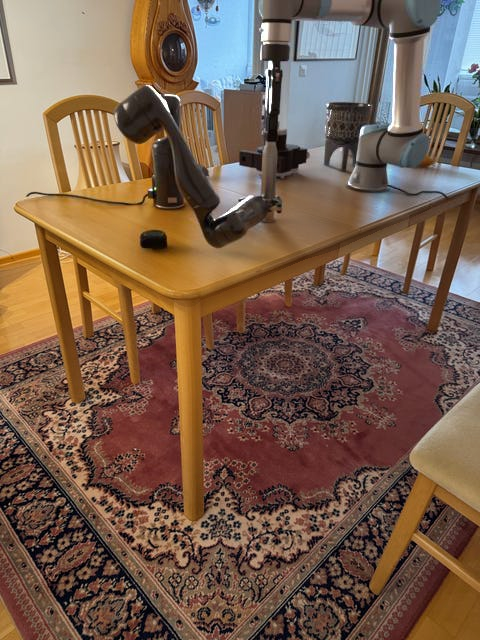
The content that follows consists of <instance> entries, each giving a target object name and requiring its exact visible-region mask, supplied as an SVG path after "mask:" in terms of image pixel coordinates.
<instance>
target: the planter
mask: <svg viewBox="0 0 480 640" xmlns="http://www.w3.org/2000/svg"><path fill="white" fill-rule="evenodd" d="M373 107H374V106H373V104H372V103H367V102H353V101H333V102H327V103H326V109H325V124H324V125H325V126H324V139H325V144H324V156H323V157H324V158H323V165H325V166H328V165H330V163H331V158H332V156H333V154H334V153H335V151H336V150H337V149H341V148H342V152H341V166H340V170H341V172H345V171H347V167H348V166H347V165H348V159H349V154H348V152H349V150H350V151H351V153H352V155H351V157H352V158H351V159H352V160H351V161H352V166H353V167H355V165H356V158H357V150H358V142H359V136H360V131H361V128H362V127H363V126H365V125H370V121H371V116H372V112H373Z"/></svg>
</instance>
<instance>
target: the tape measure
mask: <svg viewBox="0 0 480 640" xmlns="http://www.w3.org/2000/svg"><path fill="white" fill-rule="evenodd" d="M167 236H168V235H167V234H166V232H165V231H164V230H161V229H147V230H144V231H143V232H141V233H140V235H139V240H140V241H139V245H140V246H139V247H141V248H142V249H146V250H157V249H167V248H168V240H167V239H168V237H167Z"/></svg>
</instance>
